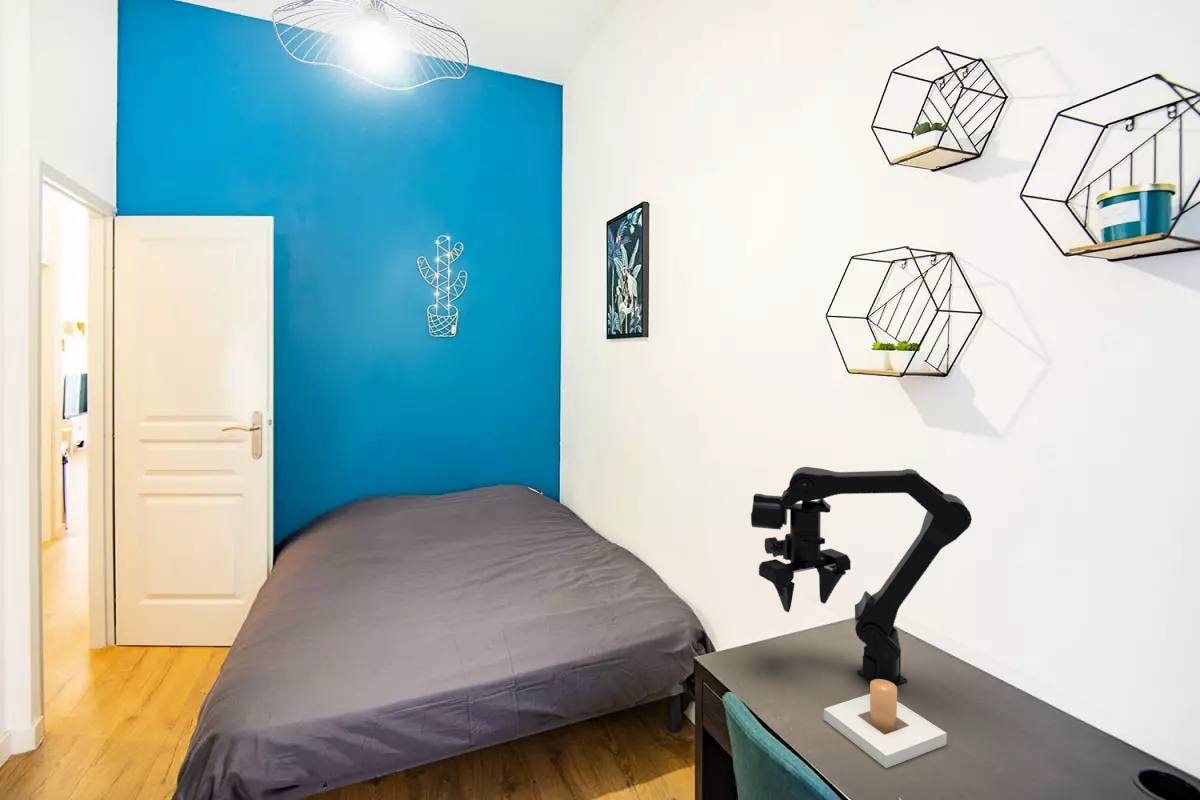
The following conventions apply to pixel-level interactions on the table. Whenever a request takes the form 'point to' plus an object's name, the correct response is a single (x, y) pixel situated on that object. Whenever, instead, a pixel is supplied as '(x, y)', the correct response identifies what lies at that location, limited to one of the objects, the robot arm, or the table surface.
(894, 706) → the peg
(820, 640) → the table surface
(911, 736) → the frame
